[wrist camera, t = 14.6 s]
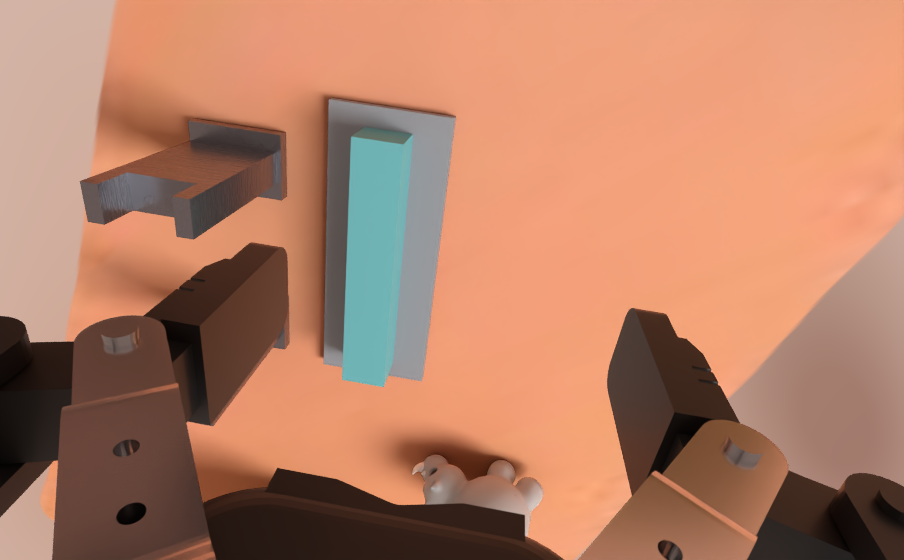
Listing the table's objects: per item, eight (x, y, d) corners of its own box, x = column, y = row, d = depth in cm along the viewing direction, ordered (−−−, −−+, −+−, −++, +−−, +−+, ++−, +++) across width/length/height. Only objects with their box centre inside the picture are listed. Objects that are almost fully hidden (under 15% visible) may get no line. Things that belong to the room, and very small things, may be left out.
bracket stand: (195, 118, 40) (69, 157, 29) (285, 132, 39) (193, 177, 28) (215, 330, 48) (123, 423, 37) (289, 343, 48) (219, 441, 37)
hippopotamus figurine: (450, 412, 53) (405, 460, 46) (557, 483, 49) (526, 546, 42) (429, 462, 56) (383, 513, 49) (527, 531, 52) (494, 598, 45)
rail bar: (365, 126, 38) (351, 136, 35) (413, 134, 38) (403, 144, 34) (354, 355, 47) (342, 379, 44) (392, 362, 47) (383, 386, 44)
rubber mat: (332, 97, 38) (328, 99, 37) (455, 116, 37) (454, 118, 37) (326, 358, 48) (323, 363, 48) (423, 375, 48) (421, 381, 47)
